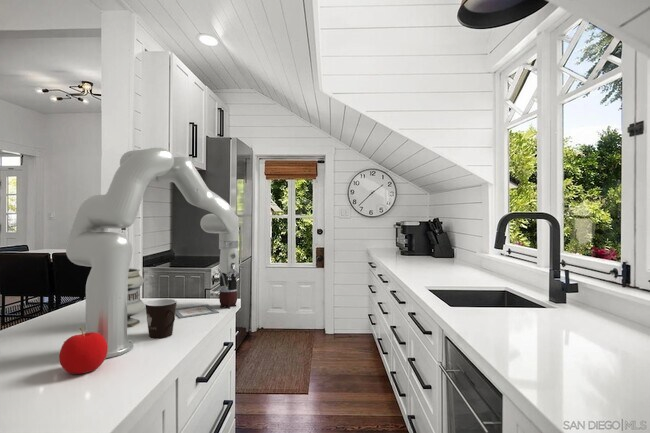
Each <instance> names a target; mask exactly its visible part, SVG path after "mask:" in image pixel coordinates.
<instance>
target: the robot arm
mask: <svg viewBox="0 0 650 433" xmlns="http://www.w3.org/2000/svg"><path fill="white" fill-rule="evenodd" d="M150 182H156V183H173V184H175V186H176V187H177V189H178V190H179V191H180V193H181V194H182V196H183V197H184V199H185V200H186V202H187V203H189V204H190V205H192V206H195V207H197V208H199V209H201V210H205V211H207V212H210V213H208V214H205V215H203V216H202V218H200V227H201V229H202V230H203V231H204V232H205V233H208V234H218V236H219V237H218V249H219V250H220V253H219V271H220V272H221V273H222V274H223V276H224V280H225V285H226V286H228V290H236V289H237V281H238V277H237V276H238V274H239V273H240V272H239V271H240V267H239V266H240V263H239V261H240V260H239V250H238V249H239V235H240V234H239V231H240V230H239V227H240V224H239V223H240V219H239V216H238V215H236V212H235V211H234V209H233V208H232V206H231V205H230V204H229V203H228V202H227V200H225V199H224V198H222V197H221V196H220V195H219V194H217V193H216V192H214V191H212V190H210V189H209V187H208V186H207V184H206V183H205V181H204V180H203V177H202V176H201V174H200V173H199V171H198V170H197V169H196V167H195V165H194V163H193V162H192V161H191V159H190V158H188V157H185V156H174V155H173V153H172V152H171V151H170V150H168V149H167V148H164V147H163V148H162V147H151V148H144V149H133V150H129V151H128V150H127V151H126V152H124V154H122V155H121V156H120V159H119V167H118V168H117V170H116V171H115V173H114V175H113V177H112V180H111V182H110V185H109V188H108V189H107V191H106V193H105V194H95V195H92V196H91V195H90V197H89V196H88V198H85V200H84V201H83V202H82V203H81V204H80V206H79V207H78V209H77V212H76V213H75V214H76V215H75V217H74V220H73V223H72V224H71V225H72V226H71V229H70V230H69V231H70V232H69V234H68V238H67V239H66V240H67V241H66V245H65V254H66V257H67V259H68V260H69V261H70V262H71V263H73V264H74V265H77V266H83V267H90V268H91V269H90V271H89V274H88V276H87V279H86V284H85V314H84V315H85V319H84V320H85V322H84V324H85V325H84V326H85V328H84V330H85V332H84V333H90V332H95V333H99V334H101V335H102V336H103V337H104V338H105V340H106V342H107V346H108V351H107V355H106V358H105V359H108V358H113V357H118V356H120V355H124V354H125V353H126V354H127V352H129V351H131V350H132V349H133V348H134V341H133V340H132V339H129V338H128V327H127V301H128V272H129V268H130V267H131V266H130V265H131V261H132V258H133V245H132V242H131V241H130V239H129V238H127V236H126V235H123V234H121V233H119V232H113V231H109V229H127V228H129V227H131V226H133V224H134V223H135V221H136V220H137V216H138V214H139V210H140V206H141V204H142V200H143V197H144V194H145V192H146V191H145V190H146V189H147V187H148V185H149V183H150ZM220 272H219V286H220V287H223V286H224V282H223V279H222V275H221V274H220ZM65 341H66V340H65ZM65 341H63V343H64V342H65Z"/></svg>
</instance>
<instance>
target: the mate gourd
mask: <svg viewBox="0 0 650 433" xmlns="http://www.w3.org/2000/svg"><path fill="white" fill-rule="evenodd" d="M218 273H219V275H220V274H221V275H222V279H223V282H224V286H221V288H220V289H219V295H218V297H219V304H220V306H219V308H227V309H228V310H230V309H231V308H232V307H233V308H235V307H237V301H238V289H237V288H236V290H228V286H226V285H225V280H224V276H223V274H222V273H221V272H220V270H219V271H218Z"/></svg>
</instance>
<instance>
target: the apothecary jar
mask: <svg viewBox="0 0 650 433" xmlns="http://www.w3.org/2000/svg"><path fill="white" fill-rule="evenodd" d="M144 283H145V279H144V277H143V276H142V275H140V271H139V269H138V268H130V267H129V272H128V301H127V328H129V327H130V328H131V327H135V326H137V325H139V324H140V323H141V321H140V320H139V319H138V318H135V317H132V316H135V315H138V314H139V313H140V312H142V310H144V307H145V304H144V303H145V302H144V301H143V300H142V299H141V287H142V286H143V285H144Z"/></svg>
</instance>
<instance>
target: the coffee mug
mask: <svg viewBox="0 0 650 433" xmlns="http://www.w3.org/2000/svg"><path fill="white" fill-rule="evenodd" d="M144 303H145V304H144V306H145V312H146V324H147V330H148V338H149V339H152V340H161V339H167V338H169V337H171V336H173V331H174V323H175V320H176V314H175V310H176V308H177V303H178V302H177V300H176V299H172V298H162V299H161V298H160V299H154V300H149V301H147V302H144Z"/></svg>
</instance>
